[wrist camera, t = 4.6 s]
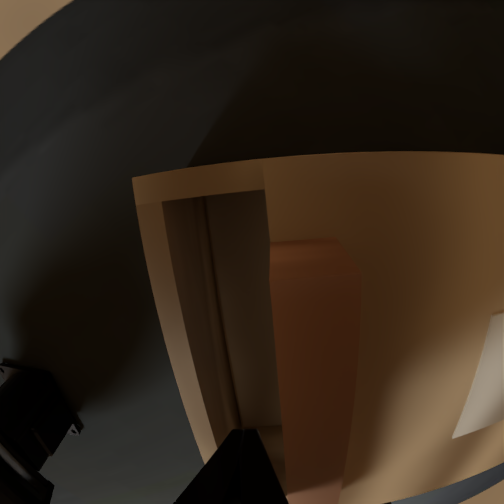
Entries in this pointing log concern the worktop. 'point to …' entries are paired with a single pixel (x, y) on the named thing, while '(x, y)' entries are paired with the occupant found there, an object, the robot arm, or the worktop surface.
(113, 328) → the worktop surface
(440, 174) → the mailer lid
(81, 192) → the worktop surface
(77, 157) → the worktop surface
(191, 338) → the mailer box
